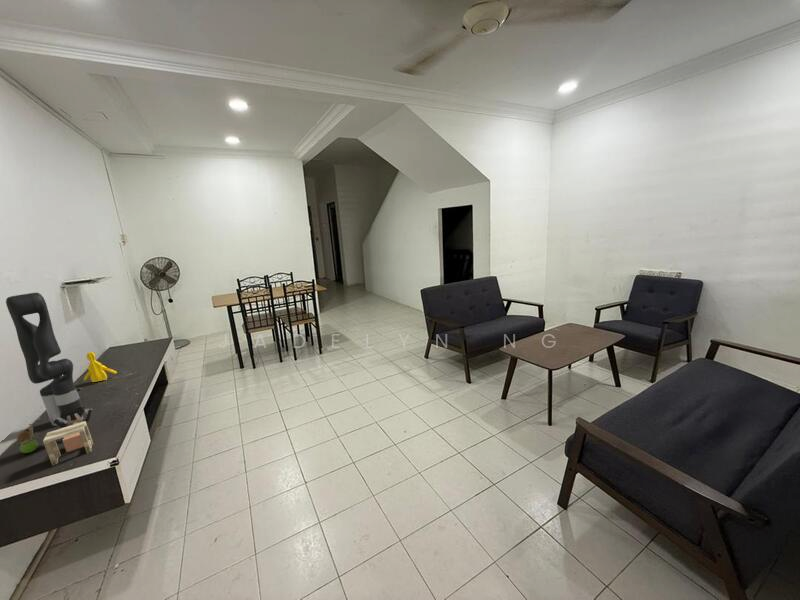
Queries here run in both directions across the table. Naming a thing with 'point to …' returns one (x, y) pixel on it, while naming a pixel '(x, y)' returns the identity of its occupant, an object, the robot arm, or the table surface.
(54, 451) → the beige u-shaped block
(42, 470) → the table surface
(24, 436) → the snail figurine
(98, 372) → the figure statuette
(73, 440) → the cube base joystick
